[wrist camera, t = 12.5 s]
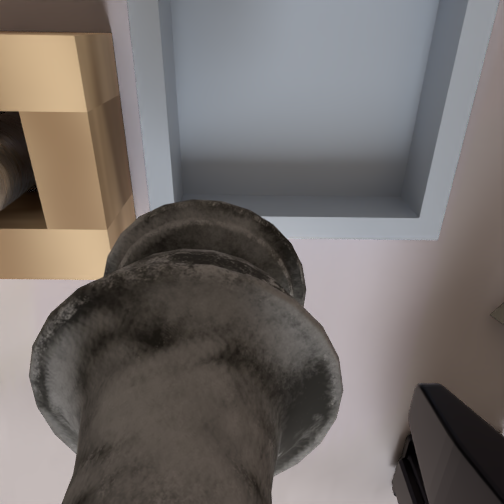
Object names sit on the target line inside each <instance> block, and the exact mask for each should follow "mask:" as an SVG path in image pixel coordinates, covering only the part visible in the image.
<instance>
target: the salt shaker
mask: <svg viewBox="0 0 504 504" xmlns="http://www.w3.org/2000/svg"><path fill="white" fill-rule="evenodd" d="M305 294H306V286H305V279H304V273H303V267H302V264H301V262H300V260H299V258H298V256H297V254H296V252H295V250H294V248H293V246H292V244H291V243H290V242H289V240H288V239H287V238H286V237H285V236H284V235H283V234H282V233H281V232H280V231H279V230H278V229H277V228H276V227H275V226H274V224H272V223H270V222H269V221H267V220H265V219H264V218H262V217H261V216H259V215H257V214H256V213H254V212H253V211H251V210H249V209H246V208H243V207H239V206H236V205H233V204H230V203H227V202H223V201H213V200H197V199H191V200H186V201H181V202H175V203H170V204H165V205H162V206H160V207H158V208H156V209H154V210H152V211H150V212H148V213H146V214H144V215H142V216H140V217H138V218H137V219H136V220H135V221H134V222H133V223H132V224H131V225H130V226H129V227H127V228H126V229H125V230H124V231H123V232H122V233H121V234H120V236H119V237H118V239H117V241H116V242H115V244H114V246H113V248H112V249H111V251H110V253H109V255H108V256H107V261H106V266H105V271H104V276H103V277H102V278H100V279H97V280H95V281H93V282H91V283H89V284H87V285H84V286H82V287H80V288H78V289H77V290H76V291H75V292H74V293H73V294H72V295H70V296H69V297H68V298H67V299H66V300H65V301H64V302H63V303H61V304H60V305H59V306H58V307H57V308H56V309H55V310H54V311H52V312H51V313H50V315H49V316H48V318H47V320H46V322H45V324H44V325H43V327H42V329H41V331H40V333H39V335H38V337H37V338H36V340H35V342H34V344H33V346H32V354H31V363H30V372H29V378H30V382H31V386H32V389H33V393H34V397H35V401H36V405H37V407H38V409H39V410H40V412H41V414H42V415H43V417H44V418H45V420H46V421H47V423H48V425H49V426H50V428H51V429H52V431H53V432H54V434H55V435H56V436H57V437H58V438H59V439H61V440H62V441H63V442H64V443H65V444H66V445H67V446H68V447H69V448H70V449H71V450H73V451H74V452H75V453H76V454H77V455H76V461H75V467H74V473H73V476H72V479H71V481H70V484H69V486H68V489H67V491H66V494H65V497H64V499H63V502H62V504H272V497H271V490H272V482H273V476H275V475H277V474H279V473H281V472H283V471H285V470H287V469H288V468H290V467H292V466H294V465H296V464H298V463H299V462H300V461H301V460H302V459H303V458H304V457H305V456H307V455H308V454H309V453H310V452H311V451H312V450H313V449H315V448H316V447H317V446H318V445H319V444H320V443H321V442H322V440H323V438H324V437H325V435H326V434H327V432H328V431H329V429H330V428H331V426H332V424H333V423H334V421H335V420H336V418H337V414H338V410H339V406H340V401H341V397H342V393H343V385H342V377H341V370H340V362H339V357H338V355H337V353H336V351H335V349H334V347H333V345H332V343H331V341H330V340H329V338H328V336H327V334H326V332H325V330H324V328H323V326H322V325H321V324H320V323H319V322H318V321H317V320H316V319H315V318H314V317H313V316H312V315H311V314H310V313H309V312H308V311H307V310H306V309H305V308H304V300H305Z"/></svg>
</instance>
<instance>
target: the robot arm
mask: <svg viewBox="0 0 504 504" xmlns="http://www.w3.org/2000/svg"><path fill="white" fill-rule="evenodd" d="M409 426H410V430H411V434H410V435H409V436H408V437H407V439H406V442H405V446H404V449H403V453H402V456H401V458H400V460H399V461H398V464H397V467H396V471H395V474H394V478H393V481H392V484H393V487H392V490H393V493H394V495H395V496H396V497H397V500H398V503H399V504H504V436H503V435H502V434H500V433H499V432H497V431H496V430H495V429H494V428H493V427H491V426H490V425H489V424H488V423H487V422H486V421H484V420H483V419H482V418H481V417H480V416H478V415H477V414H476V413H475V412H474V411H472V410H471V409H470V408H469V407H468V406H467V405H465V404H464V403H463V402H462V401H461V400H459V399H458V398H457V397H456V396H455V395H453V394H452V393H451V392H450V391H449V390H448V389H446V388H445V387H444V386H443V385H441V384H438V383H420V384H418V385H417V386H416V387H415V390H414V394H413V398H412V402H411V406H410V410H409Z"/></svg>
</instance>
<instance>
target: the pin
mask: <svg viewBox="0 0 504 504" xmlns="http://www.w3.org/2000/svg"><path fill="white" fill-rule="evenodd" d="M34 185H36V180H35V176H34V172H33V168H32V164H31V160H30V156H29V152H28V148H27V143H26V139H25V135H24V131H23V127H22V123H21V119H20V115H19V111H9V112H6V113H4V114H1V115H0V211H1V210H3V209H4V208H5V207H7V206H8V205H9V204H11V203H12V202H13V201H15V200H16V199H17V198H19V197H20V196H21V195H22V194H24V193H25V192H26V191H28V190H29V189H30V188H32V187H33V186H34Z"/></svg>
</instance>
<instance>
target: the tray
mask: <svg viewBox="0 0 504 504" xmlns="http://www.w3.org/2000/svg"><path fill="white" fill-rule="evenodd" d="M498 4H499V0H127V8H128V17H129V26H130V35H131V44H132V53H133V62H134V71H135V80H136V89H137V98H138V106H139V115H140V124H141V133H142V142H143V151H144V160H145V169H146V178H147V187H148V196H149V205H150V211H152V210H154V209H156V208H158V207H160V206H162V205H165V204H170V203H175V202H181V201H186V200H191V199H197V200H213V201H223V202H227V203H230V204H233V205H236V206H239V207H243V208H246V209H249V210H251V211H253V212H254V213H256V214H257V215H259V216H261V217H262V218H264V219H265V220H267V221H269V222H270V223H272V224H274V226H275V227H276V228H277V229H278V230H279V231H280V232H281V233H282V234H283V235H284V236H285V237H286V238H287V239H373V240H438V238H439V234H440V230H441V226H442V222H443V219H444V215H445V211H446V207H447V203H448V199H449V195H450V191H451V187H452V183H453V180H454V176H455V172H456V168H457V164H458V160H459V156H460V152H461V148H462V145H463V141H464V137H465V133H466V129H467V125H468V121H469V117H470V113H471V109H472V106H473V102H474V98H475V94H476V90H477V86H478V82H479V78H480V74H481V70H482V67H483V63H484V59H485V55H486V51H487V47H488V43H489V39H490V35H491V32H492V28H493V24H494V20H495V16H496V12H497V8H498Z"/></svg>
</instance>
